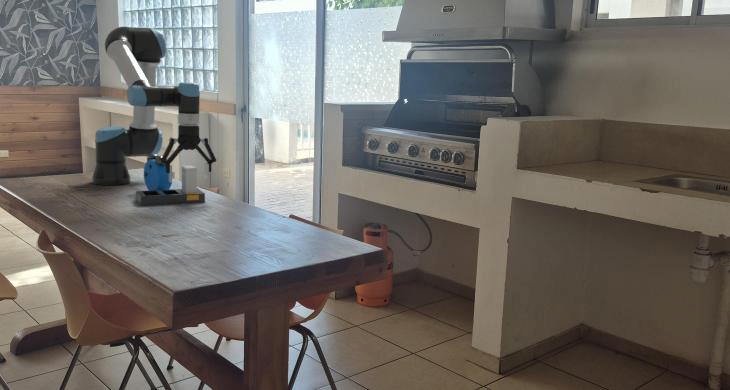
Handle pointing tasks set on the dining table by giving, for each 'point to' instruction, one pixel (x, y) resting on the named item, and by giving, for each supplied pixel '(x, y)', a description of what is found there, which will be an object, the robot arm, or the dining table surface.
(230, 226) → the dining table surface
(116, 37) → the robot arm
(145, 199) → the rack
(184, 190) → the pale grey rectangular block
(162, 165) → the alarm clock
